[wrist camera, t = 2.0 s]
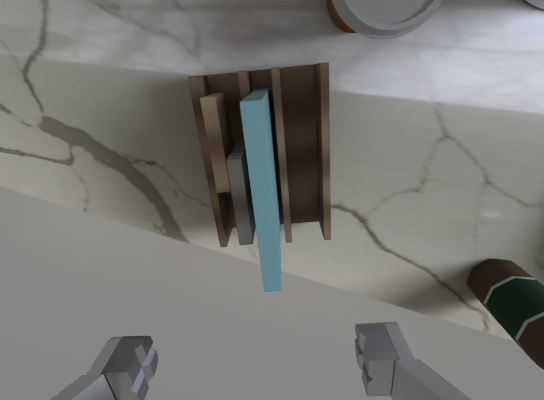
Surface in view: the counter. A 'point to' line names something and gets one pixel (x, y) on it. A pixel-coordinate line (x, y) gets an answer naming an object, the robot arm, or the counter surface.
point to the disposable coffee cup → (380, 16)
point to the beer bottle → (512, 303)
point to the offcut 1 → (218, 136)
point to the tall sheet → (263, 183)
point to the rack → (278, 140)
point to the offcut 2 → (241, 193)
